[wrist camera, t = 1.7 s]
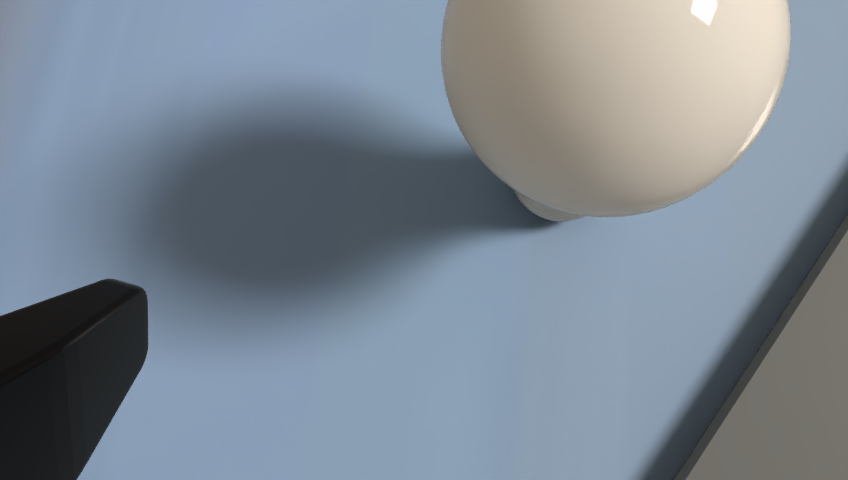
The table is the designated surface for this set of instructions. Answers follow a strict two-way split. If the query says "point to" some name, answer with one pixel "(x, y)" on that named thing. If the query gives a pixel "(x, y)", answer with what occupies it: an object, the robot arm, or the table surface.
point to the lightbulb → (612, 95)
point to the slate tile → (789, 391)
